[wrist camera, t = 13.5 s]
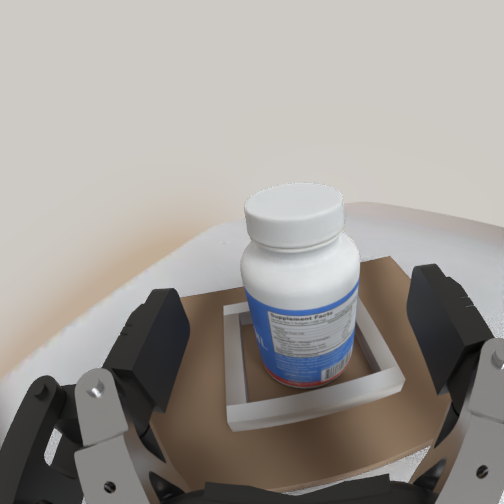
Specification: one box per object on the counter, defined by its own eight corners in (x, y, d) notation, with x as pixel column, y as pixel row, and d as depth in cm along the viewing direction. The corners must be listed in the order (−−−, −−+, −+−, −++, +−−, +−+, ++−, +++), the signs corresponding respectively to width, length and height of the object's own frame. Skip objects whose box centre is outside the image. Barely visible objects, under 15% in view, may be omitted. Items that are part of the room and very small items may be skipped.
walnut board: (388, 270, 24) (390, 244, 22) (487, 411, 10) (508, 386, 9) (169, 313, 24) (158, 289, 23) (143, 495, 10) (117, 482, 9)
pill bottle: (267, 324, 19) (240, 182, 14) (347, 320, 18) (348, 173, 13) (255, 393, 14) (210, 232, 9) (354, 390, 13) (375, 219, 8)
